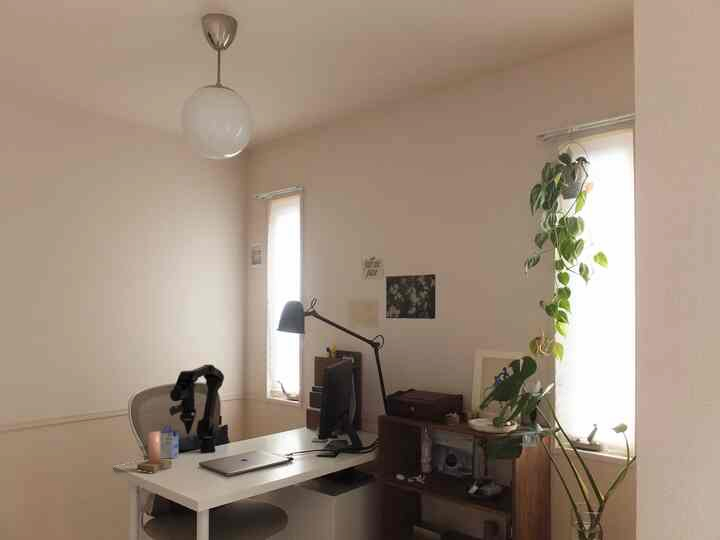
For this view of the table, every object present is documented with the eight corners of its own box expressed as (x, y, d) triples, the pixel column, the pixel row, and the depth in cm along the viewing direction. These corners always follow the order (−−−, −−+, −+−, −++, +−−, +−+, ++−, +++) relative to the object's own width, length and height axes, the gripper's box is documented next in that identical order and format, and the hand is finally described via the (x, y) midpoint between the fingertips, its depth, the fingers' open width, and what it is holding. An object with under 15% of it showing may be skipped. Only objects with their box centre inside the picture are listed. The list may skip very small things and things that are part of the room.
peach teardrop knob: (162, 460, 247) (162, 431, 248) (157, 463, 242) (157, 433, 243) (151, 461, 247) (151, 431, 248) (146, 464, 242) (146, 433, 243)
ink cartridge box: (179, 456, 267) (178, 425, 268) (173, 459, 262) (172, 427, 263) (160, 455, 269) (160, 425, 270) (154, 458, 264) (153, 427, 265)
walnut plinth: (155, 465, 251) (155, 458, 251) (171, 467, 247) (171, 460, 247) (137, 471, 242) (137, 464, 242) (153, 473, 238) (153, 466, 238)
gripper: (172, 396, 267) (172, 429, 265) (167, 402, 249) (168, 437, 247) (196, 394, 269) (196, 427, 268) (193, 400, 251) (194, 435, 250)
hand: (188, 432), depth 258 cm, fingers open, 9 cm apart
